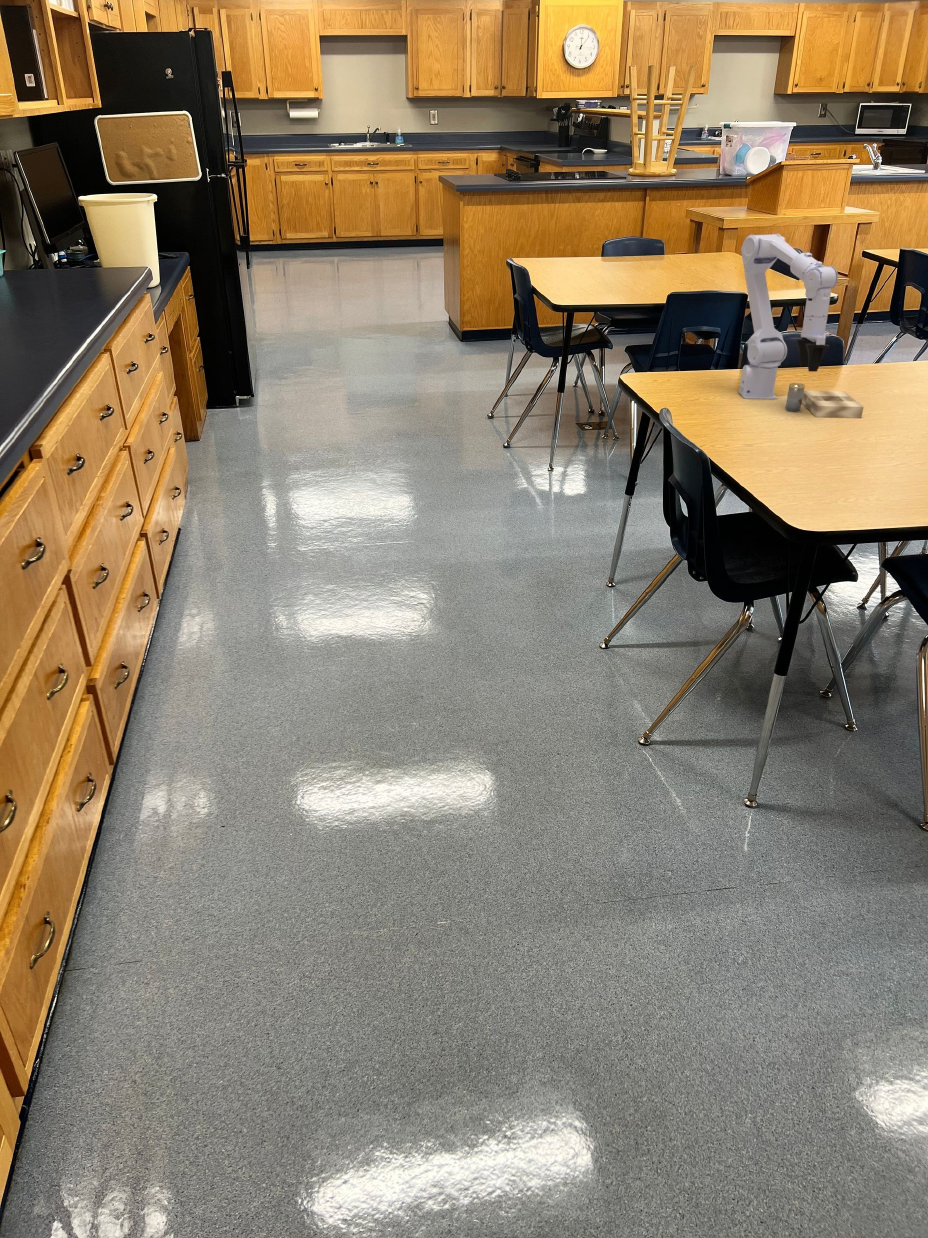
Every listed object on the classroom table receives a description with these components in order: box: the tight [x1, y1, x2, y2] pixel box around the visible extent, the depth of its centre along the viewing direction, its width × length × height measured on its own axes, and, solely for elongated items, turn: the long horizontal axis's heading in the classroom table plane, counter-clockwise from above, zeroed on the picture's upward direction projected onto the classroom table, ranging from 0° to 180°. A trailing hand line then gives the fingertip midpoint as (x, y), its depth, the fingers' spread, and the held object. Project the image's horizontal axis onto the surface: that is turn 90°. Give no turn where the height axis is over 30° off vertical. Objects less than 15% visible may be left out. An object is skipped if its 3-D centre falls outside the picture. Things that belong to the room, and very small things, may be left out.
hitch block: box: [801, 390, 865, 419], centre depth 248 cm, size 12×16×3 cm
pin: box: [784, 382, 806, 413], centre depth 246 cm, size 4×4×7 cm
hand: (808, 368), depth 242 cm, fingers open, 7 cm apart
